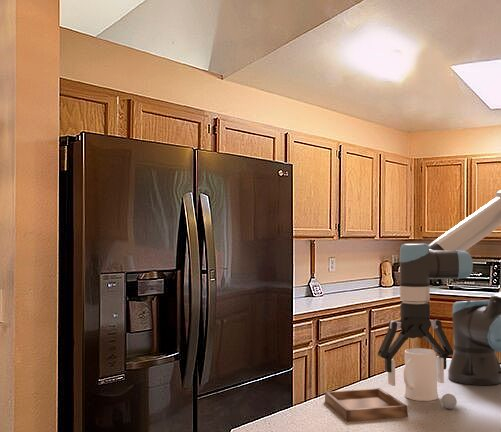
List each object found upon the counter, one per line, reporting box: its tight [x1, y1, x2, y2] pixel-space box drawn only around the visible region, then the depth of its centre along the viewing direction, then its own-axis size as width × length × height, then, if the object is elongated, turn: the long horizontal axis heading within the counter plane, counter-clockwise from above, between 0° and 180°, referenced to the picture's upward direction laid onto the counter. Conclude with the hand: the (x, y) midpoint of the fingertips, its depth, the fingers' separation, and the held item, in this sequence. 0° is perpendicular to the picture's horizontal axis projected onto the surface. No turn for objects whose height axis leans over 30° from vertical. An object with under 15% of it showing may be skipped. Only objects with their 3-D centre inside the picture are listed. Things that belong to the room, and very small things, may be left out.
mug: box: [403, 347, 439, 402], centre depth 160 cm, size 12×8×12 cm
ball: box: [441, 393, 458, 410], centre depth 149 cm, size 4×4×4 cm
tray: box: [324, 387, 409, 422], centre depth 151 cm, size 15×17×2 cm
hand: (416, 383), depth 160 cm, fingers open, 13 cm apart
